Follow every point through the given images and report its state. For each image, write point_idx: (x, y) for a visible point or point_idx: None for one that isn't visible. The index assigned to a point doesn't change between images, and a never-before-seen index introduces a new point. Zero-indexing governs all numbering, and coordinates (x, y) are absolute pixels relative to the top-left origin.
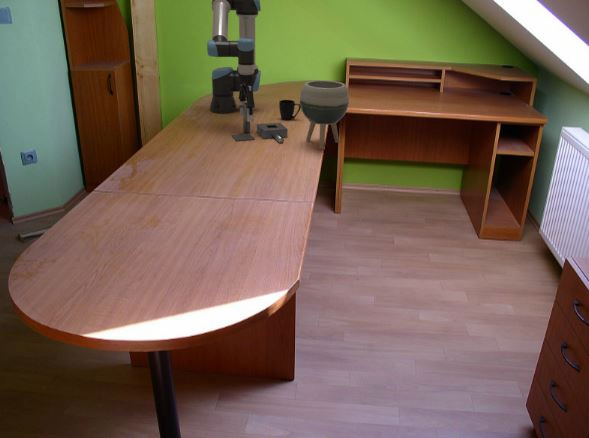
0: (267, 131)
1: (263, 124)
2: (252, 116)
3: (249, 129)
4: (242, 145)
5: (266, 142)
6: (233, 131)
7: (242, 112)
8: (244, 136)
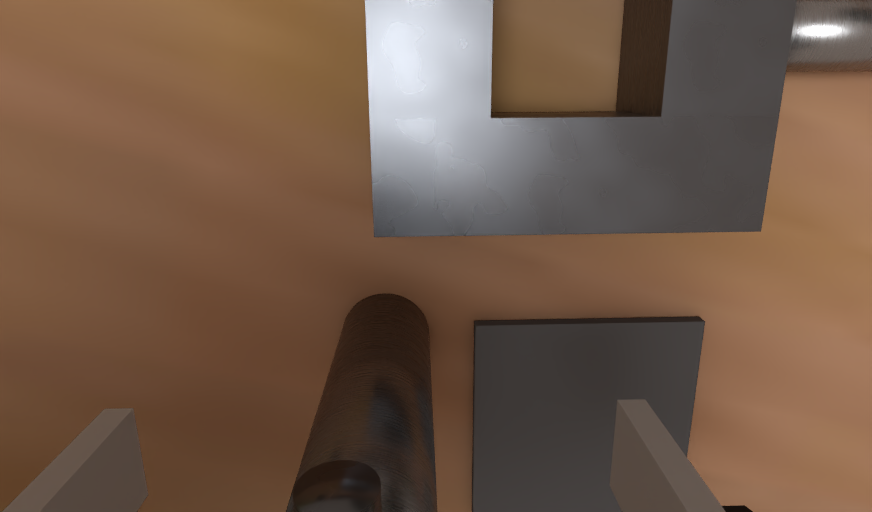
0: (760, 165)
1: (419, 132)
2: (682, 468)
3: (420, 329)
4: (830, 476)
5: (845, 210)
6: (297, 460)
7: (120, 494)
8: (572, 406)
